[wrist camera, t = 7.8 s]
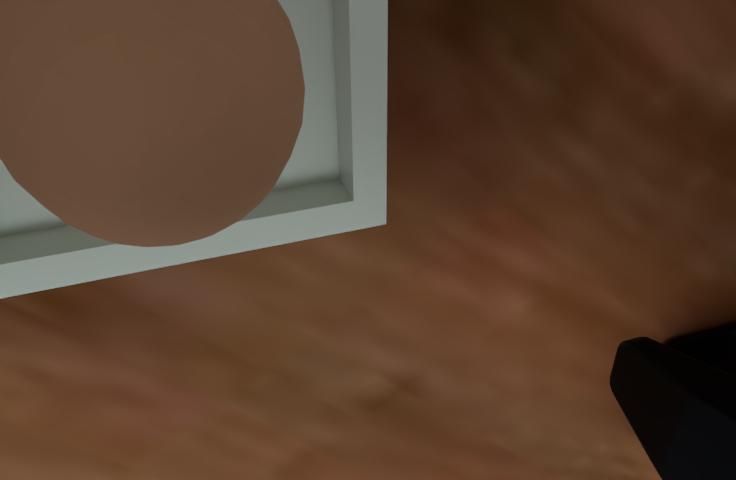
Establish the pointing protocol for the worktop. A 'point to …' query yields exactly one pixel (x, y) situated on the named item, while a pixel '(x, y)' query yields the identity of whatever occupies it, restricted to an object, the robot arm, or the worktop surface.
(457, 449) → the worktop surface
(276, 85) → the egg
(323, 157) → the dish
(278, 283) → the worktop surface
